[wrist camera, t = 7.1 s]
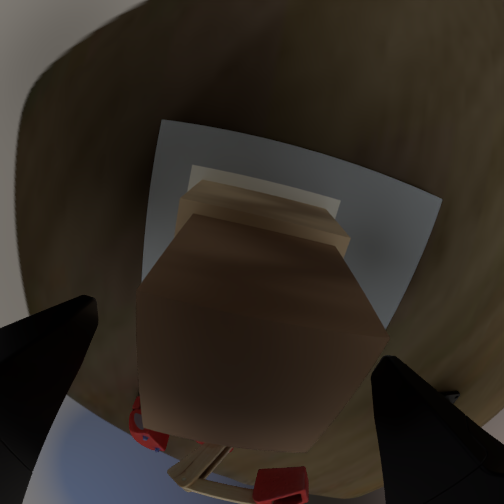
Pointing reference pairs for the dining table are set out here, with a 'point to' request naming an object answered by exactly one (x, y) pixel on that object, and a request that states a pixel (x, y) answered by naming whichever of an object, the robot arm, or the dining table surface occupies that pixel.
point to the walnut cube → (251, 337)
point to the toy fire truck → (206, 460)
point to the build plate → (302, 190)
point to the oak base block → (261, 213)
